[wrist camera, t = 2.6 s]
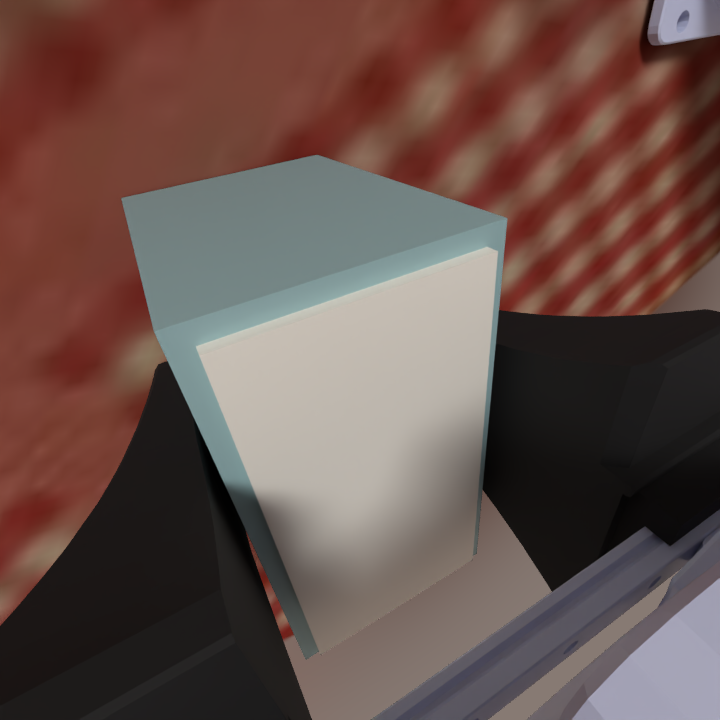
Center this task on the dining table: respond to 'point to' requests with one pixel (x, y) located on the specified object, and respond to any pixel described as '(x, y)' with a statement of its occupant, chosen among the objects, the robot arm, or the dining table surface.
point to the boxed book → (332, 372)
